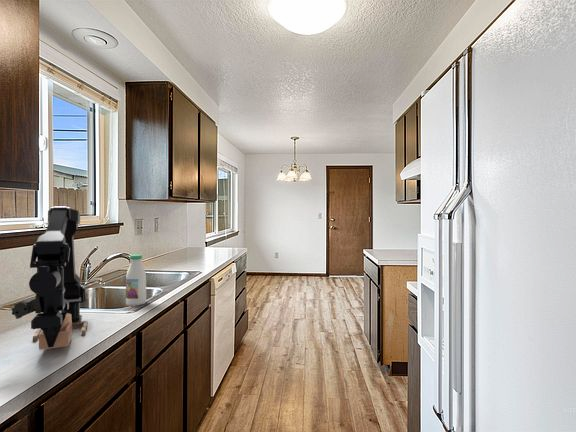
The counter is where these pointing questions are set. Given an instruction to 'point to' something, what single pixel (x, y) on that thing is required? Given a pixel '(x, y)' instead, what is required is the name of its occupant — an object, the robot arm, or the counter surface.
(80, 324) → the cradle
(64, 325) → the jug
